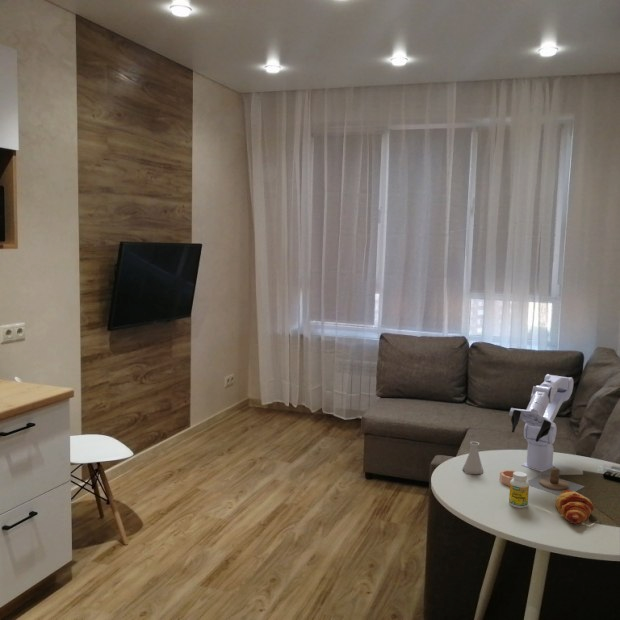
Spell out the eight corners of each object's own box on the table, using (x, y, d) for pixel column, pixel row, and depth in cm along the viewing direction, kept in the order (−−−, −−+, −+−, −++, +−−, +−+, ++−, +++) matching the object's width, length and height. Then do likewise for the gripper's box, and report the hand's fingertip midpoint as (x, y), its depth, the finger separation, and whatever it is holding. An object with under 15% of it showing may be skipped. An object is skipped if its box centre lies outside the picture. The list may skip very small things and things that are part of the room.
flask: (481, 468, 213) (483, 440, 212) (485, 475, 206) (487, 447, 205) (460, 466, 214) (462, 439, 213) (463, 474, 206) (465, 445, 205)
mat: (543, 474, 209) (543, 473, 209) (584, 487, 198) (584, 486, 198) (523, 484, 199) (523, 483, 199) (565, 498, 189) (565, 497, 189)
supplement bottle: (527, 502, 185) (529, 472, 184) (527, 509, 180) (530, 478, 179) (508, 499, 187) (510, 469, 186) (508, 506, 182) (510, 475, 181)
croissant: (560, 508, 190) (549, 484, 191) (592, 498, 187) (581, 474, 187) (564, 537, 170) (551, 510, 171) (600, 526, 167) (588, 499, 167)
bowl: (507, 477, 205) (507, 468, 205) (527, 483, 200) (528, 475, 200) (495, 482, 200) (496, 473, 200) (516, 489, 195) (516, 480, 195)
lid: (547, 477, 205) (548, 462, 205) (573, 485, 199) (575, 470, 198) (534, 483, 199) (535, 468, 199) (561, 492, 193) (562, 476, 192)
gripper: (517, 393, 207) (505, 417, 198) (560, 409, 201) (550, 434, 192) (513, 408, 211) (501, 432, 202) (555, 424, 205) (545, 450, 196)
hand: (525, 434), depth 197 cm, fingers open, 7 cm apart
